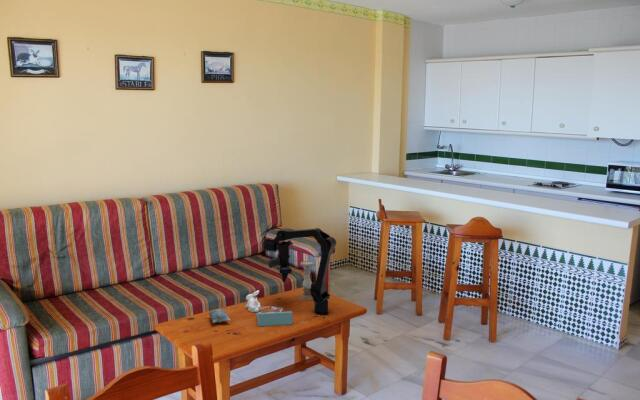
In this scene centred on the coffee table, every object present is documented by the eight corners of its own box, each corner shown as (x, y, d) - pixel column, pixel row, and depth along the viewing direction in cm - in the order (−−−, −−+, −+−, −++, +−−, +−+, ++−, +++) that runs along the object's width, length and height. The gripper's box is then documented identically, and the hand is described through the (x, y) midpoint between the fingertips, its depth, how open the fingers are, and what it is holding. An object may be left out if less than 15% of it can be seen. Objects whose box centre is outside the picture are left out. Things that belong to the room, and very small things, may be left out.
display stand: (289, 316, 275) (289, 305, 274) (292, 324, 265) (292, 312, 264) (256, 318, 272) (256, 306, 272) (258, 326, 262) (258, 314, 262)
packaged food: (226, 315, 275) (226, 306, 275) (230, 324, 264) (230, 314, 263) (208, 317, 273) (208, 307, 272) (212, 326, 261) (211, 316, 261)
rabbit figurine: (243, 307, 288) (242, 289, 287) (256, 305, 292) (256, 287, 291) (252, 314, 278) (252, 296, 277) (266, 312, 282) (266, 293, 281)
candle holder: (309, 302, 297) (309, 265, 294) (296, 299, 302) (296, 263, 299) (318, 297, 305) (318, 262, 302) (305, 295, 309) (305, 259, 306)
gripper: (266, 249, 295) (266, 277, 297) (269, 257, 276) (269, 288, 279) (287, 248, 297) (287, 276, 299) (291, 257, 278) (291, 287, 281)
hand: (283, 282), depth 289 cm, fingers closed
